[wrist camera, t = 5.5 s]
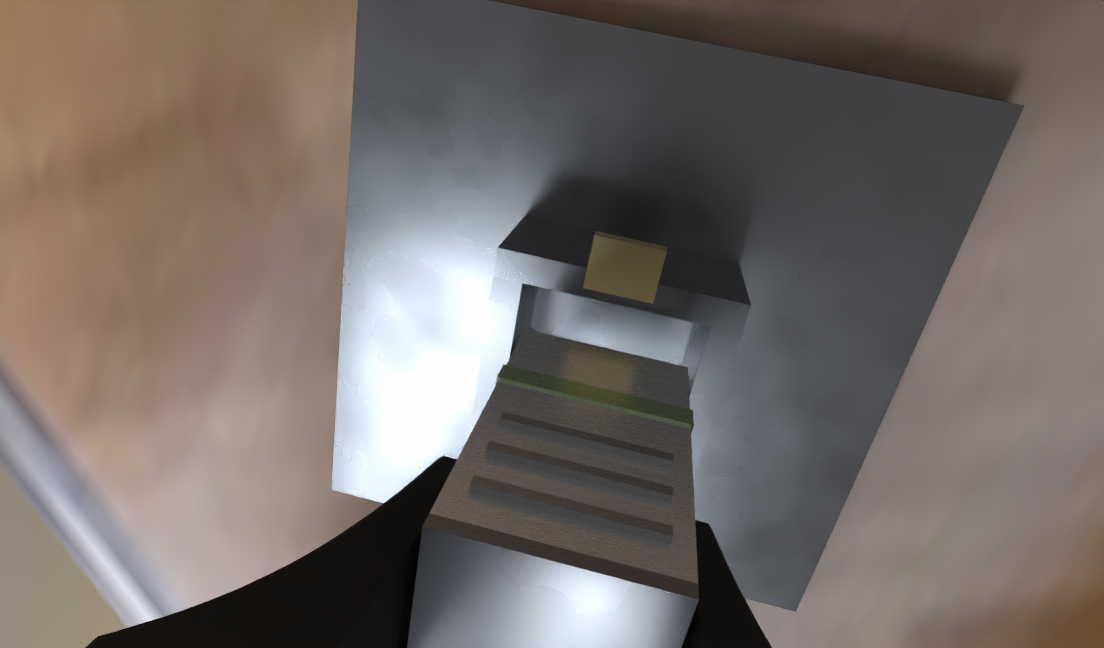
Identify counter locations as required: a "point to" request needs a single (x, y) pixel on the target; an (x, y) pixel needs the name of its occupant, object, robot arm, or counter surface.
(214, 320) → the counter surface
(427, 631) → the column
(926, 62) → the counter surface
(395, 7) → the stand base
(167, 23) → the counter surface
